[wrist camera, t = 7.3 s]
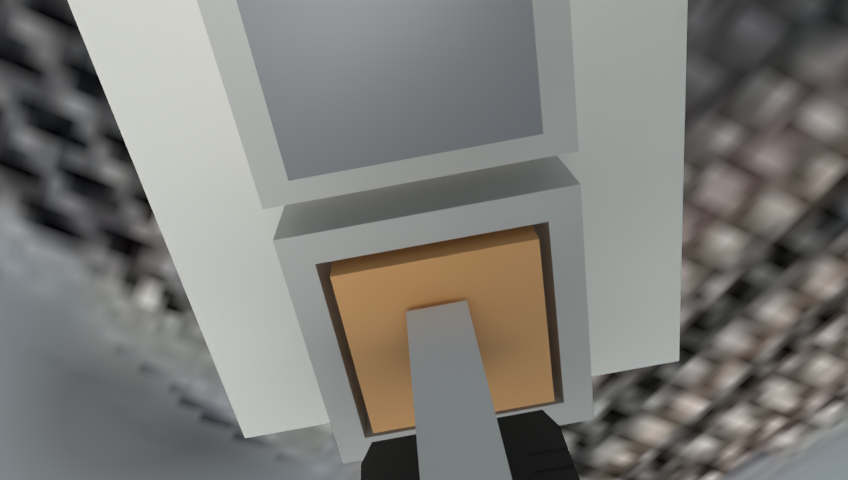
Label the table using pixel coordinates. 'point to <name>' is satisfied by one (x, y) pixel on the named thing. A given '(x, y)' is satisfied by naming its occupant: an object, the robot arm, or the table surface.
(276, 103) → the charcoal button
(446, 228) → the switch housing
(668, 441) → the table surface
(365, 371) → the orange button
